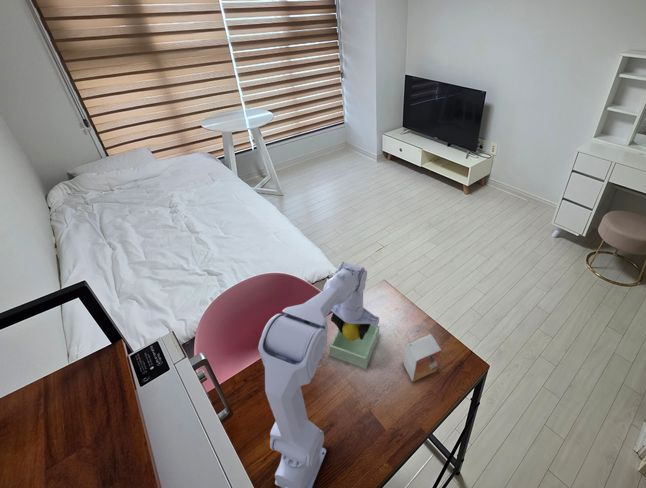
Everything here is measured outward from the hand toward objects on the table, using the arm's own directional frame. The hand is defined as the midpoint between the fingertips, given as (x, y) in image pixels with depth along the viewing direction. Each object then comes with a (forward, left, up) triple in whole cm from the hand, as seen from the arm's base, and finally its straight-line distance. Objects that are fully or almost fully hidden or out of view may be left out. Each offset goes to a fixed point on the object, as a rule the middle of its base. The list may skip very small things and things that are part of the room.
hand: (352, 333), depth 92 cm
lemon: (0, 0, -2) cm, 2 cm away
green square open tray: (+2, 0, -10) cm, 10 cm away
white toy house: (+2, -20, -10) cm, 22 cm away
